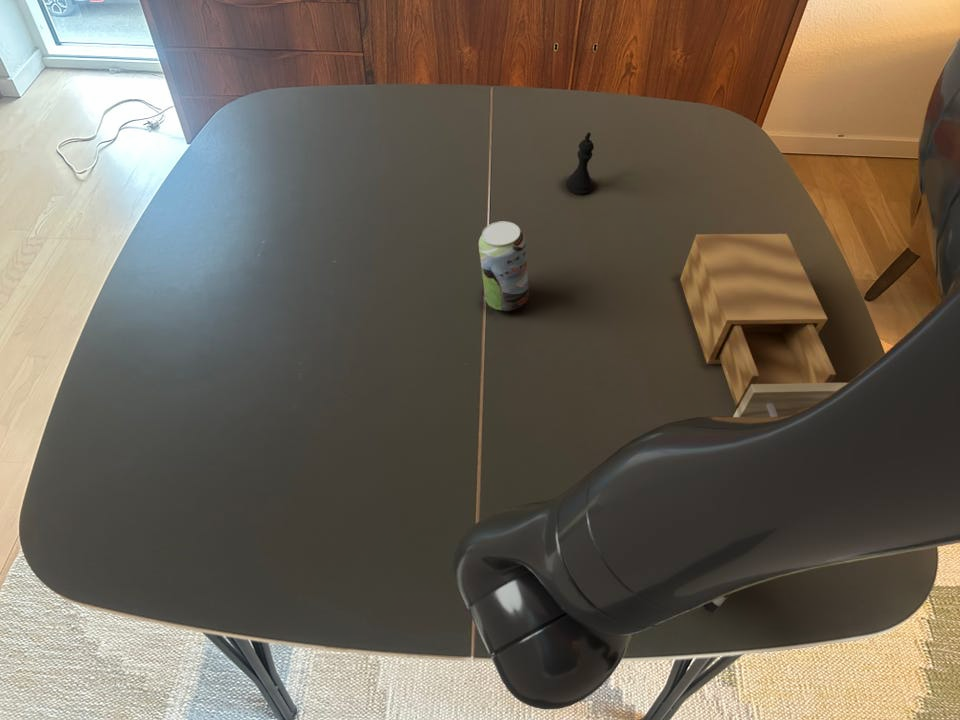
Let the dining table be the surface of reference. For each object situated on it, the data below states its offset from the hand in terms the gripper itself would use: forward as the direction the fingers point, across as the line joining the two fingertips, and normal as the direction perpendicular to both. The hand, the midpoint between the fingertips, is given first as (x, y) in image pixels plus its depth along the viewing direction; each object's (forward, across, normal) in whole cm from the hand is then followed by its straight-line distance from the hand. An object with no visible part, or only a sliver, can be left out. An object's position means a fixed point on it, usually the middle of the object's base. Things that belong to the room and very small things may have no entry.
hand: (684, 528), depth 68 cm
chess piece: (+36, +49, -23) cm, 65 cm away
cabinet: (+32, +15, -19) cm, 40 cm away
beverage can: (+17, +39, -4) cm, 43 cm away
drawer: (+25, +5, -14) cm, 29 cm away
